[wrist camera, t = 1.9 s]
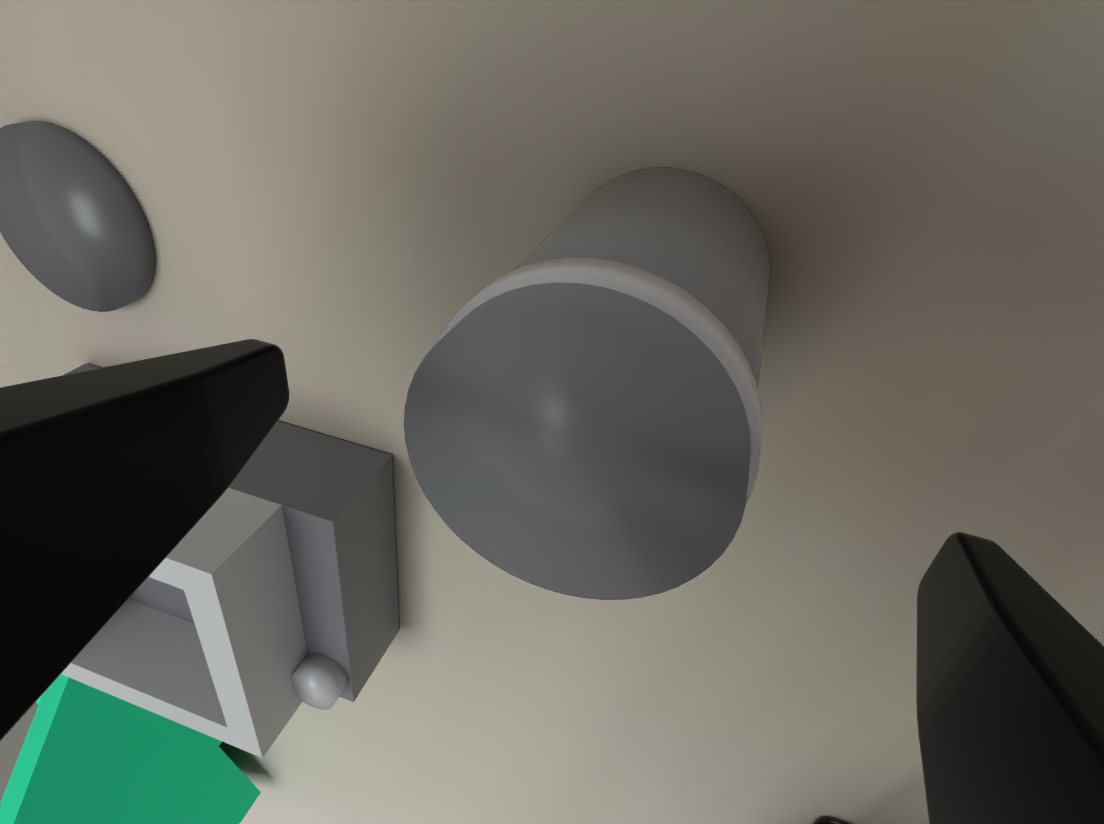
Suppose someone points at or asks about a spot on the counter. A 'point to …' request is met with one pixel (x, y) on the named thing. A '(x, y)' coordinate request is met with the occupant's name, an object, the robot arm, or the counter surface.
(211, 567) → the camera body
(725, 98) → the counter surface
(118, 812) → the camera mount
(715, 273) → the lens
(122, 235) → the lens cap
